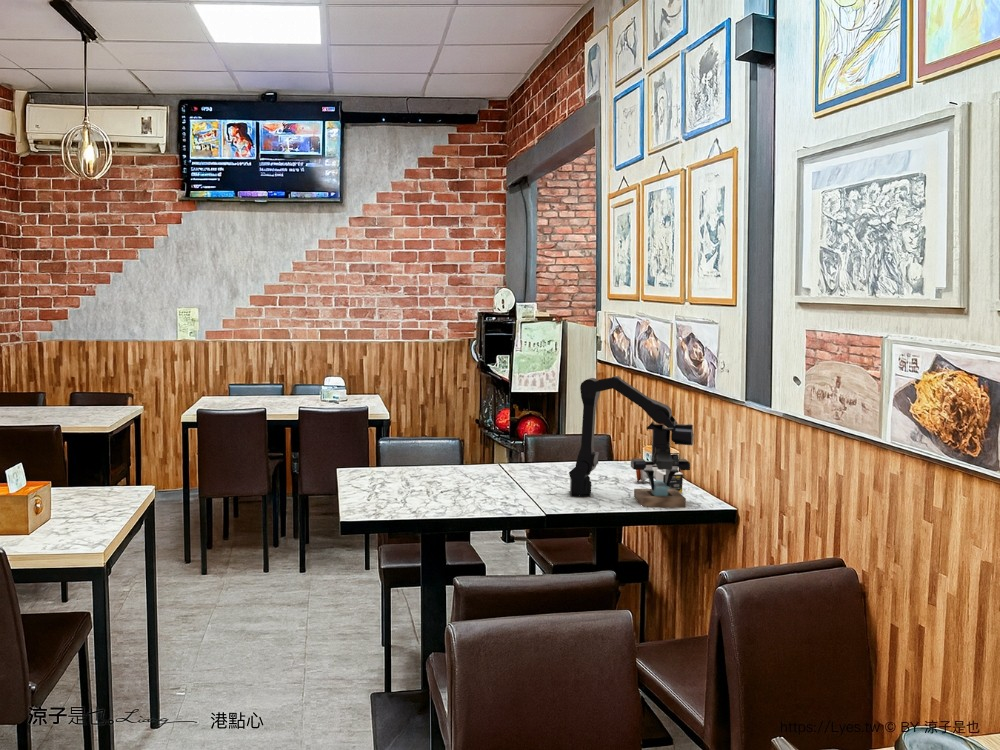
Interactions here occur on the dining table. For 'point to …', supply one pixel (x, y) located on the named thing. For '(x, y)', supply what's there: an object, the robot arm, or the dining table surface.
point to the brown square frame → (660, 498)
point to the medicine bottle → (675, 481)
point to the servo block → (660, 489)
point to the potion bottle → (643, 476)
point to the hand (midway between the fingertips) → (659, 490)
